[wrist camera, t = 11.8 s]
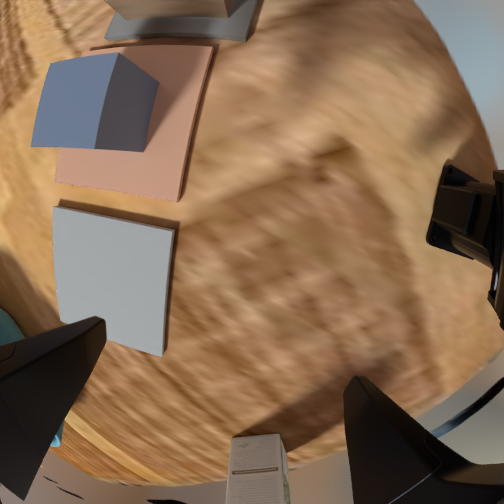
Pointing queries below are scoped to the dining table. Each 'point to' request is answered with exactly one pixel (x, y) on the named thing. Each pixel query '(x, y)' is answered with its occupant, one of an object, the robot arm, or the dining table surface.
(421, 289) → the dining table surface
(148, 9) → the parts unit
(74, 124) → the block
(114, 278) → the grey mat
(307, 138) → the dining table surface
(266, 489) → the syrup box
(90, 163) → the terracotta mat
